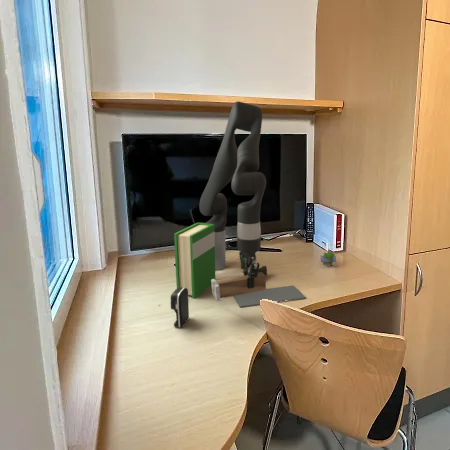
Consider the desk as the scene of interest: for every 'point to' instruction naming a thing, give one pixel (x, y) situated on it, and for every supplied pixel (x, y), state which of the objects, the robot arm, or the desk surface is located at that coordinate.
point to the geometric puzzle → (328, 258)
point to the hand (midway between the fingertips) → (248, 285)
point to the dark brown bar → (263, 270)
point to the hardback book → (195, 257)
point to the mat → (269, 296)
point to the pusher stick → (236, 286)
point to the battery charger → (180, 306)
